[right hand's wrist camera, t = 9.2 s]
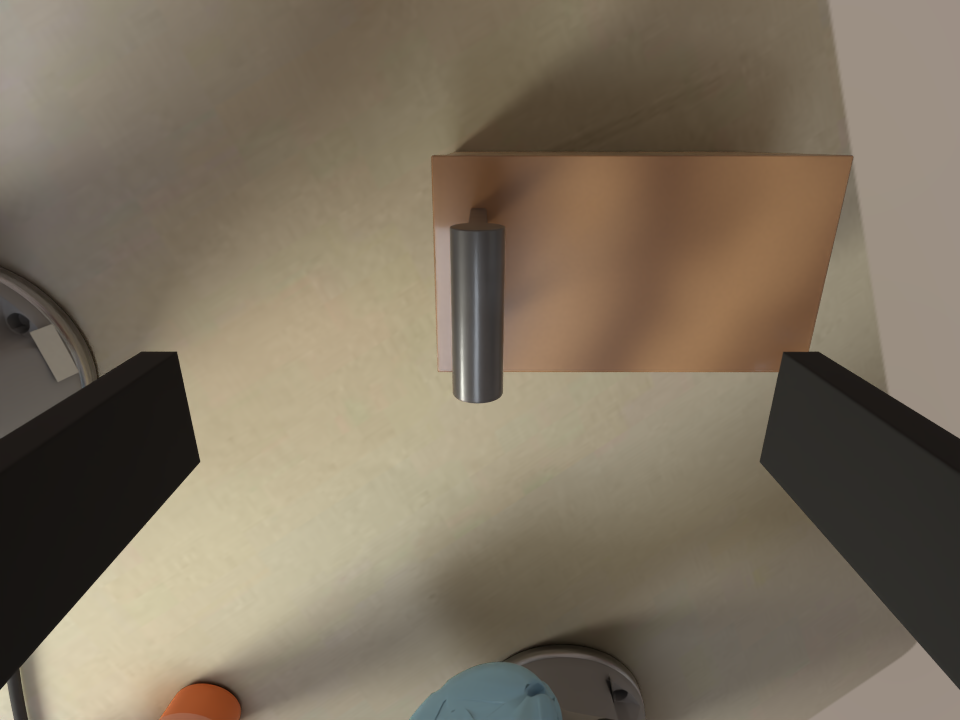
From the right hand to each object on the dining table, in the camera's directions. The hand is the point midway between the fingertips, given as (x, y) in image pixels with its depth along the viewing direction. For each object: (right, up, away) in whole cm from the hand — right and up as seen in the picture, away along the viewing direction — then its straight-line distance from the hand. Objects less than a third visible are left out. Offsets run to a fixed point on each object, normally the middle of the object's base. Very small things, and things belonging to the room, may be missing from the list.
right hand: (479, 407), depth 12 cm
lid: (+7, +6, +14) cm, 17 cm away
